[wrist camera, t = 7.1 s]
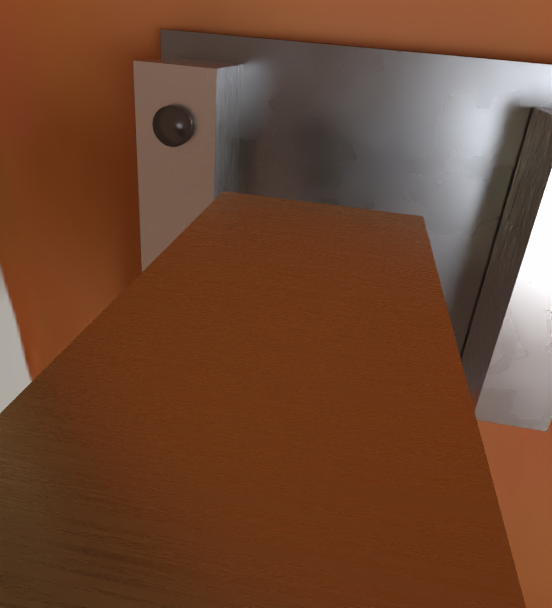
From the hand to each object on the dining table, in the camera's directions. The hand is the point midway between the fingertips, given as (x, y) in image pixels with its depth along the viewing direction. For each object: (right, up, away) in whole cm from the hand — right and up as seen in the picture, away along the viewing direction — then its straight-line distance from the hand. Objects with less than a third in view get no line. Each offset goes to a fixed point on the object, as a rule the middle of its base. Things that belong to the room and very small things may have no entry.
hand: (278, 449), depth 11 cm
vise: (+5, +7, +14) cm, 16 cm away
